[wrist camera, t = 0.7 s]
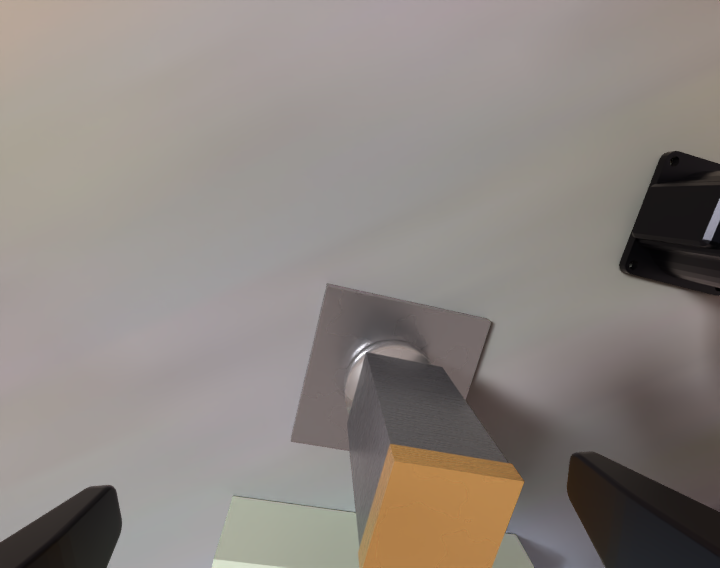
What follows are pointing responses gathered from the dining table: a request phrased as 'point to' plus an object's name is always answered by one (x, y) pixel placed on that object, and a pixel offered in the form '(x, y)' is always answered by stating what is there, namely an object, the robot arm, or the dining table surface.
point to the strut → (424, 471)
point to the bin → (308, 538)
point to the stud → (379, 336)
